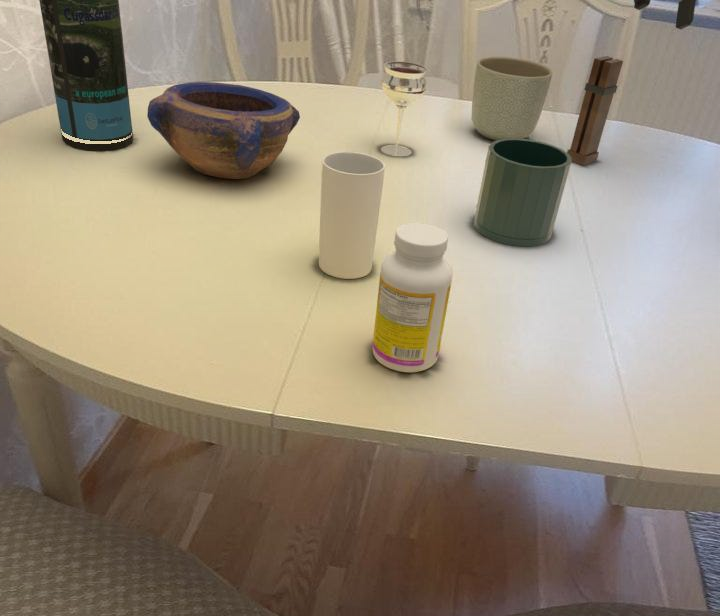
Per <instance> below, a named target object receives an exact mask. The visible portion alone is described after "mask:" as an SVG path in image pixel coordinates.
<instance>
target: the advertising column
mask: <svg viewBox="0 0 720 616" xmlns="http://www.w3.org/2000/svg"><path fill="white" fill-rule="evenodd" d="M38 1H39V7H40V13H41V20H42V25H43V26H42V27H43V31H44V37H45V38H44V39H45V43H46V50H47V55H48V61H49V67H50V72H51V79H52V85H53V92H54V99H55V103H56V109H57V115H58V121H59V128H60V130H61V129H62V131H63V132H64V133H66V134H68V135H70V136H72V137H75V138H79V139H83V140H90V141H112V140H119V139H123V138H126V137H127V136H129V135H131V133H132V136H131V137H130V138H128V139H126V140H124V141H121V142H117V143H111V144H85V143H80V142H74V141H72V140H69V139H67V138H65V137H64V136H63V135H62V133H61V132H60V134H61V139H62V140H61V141H62V142H63V143H64V144H65V145H66V146H68V147H69V148H73V149H76V150H81V151H85V152H102V153H103V152H111V151H118V150H121V149H124V148H127V147H129V146H130V145H132V144H133V142H134V133H133V125H132V124H133V123H132V116H131V115H132V114H131V106H130V105H131V104H130V95H129V85H128V77H127V76H128V75H127V67H126V58H125V48H124V39H123V29H122V19H121V10H120V9H121V8H120V1H119V0H38Z"/></svg>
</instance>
